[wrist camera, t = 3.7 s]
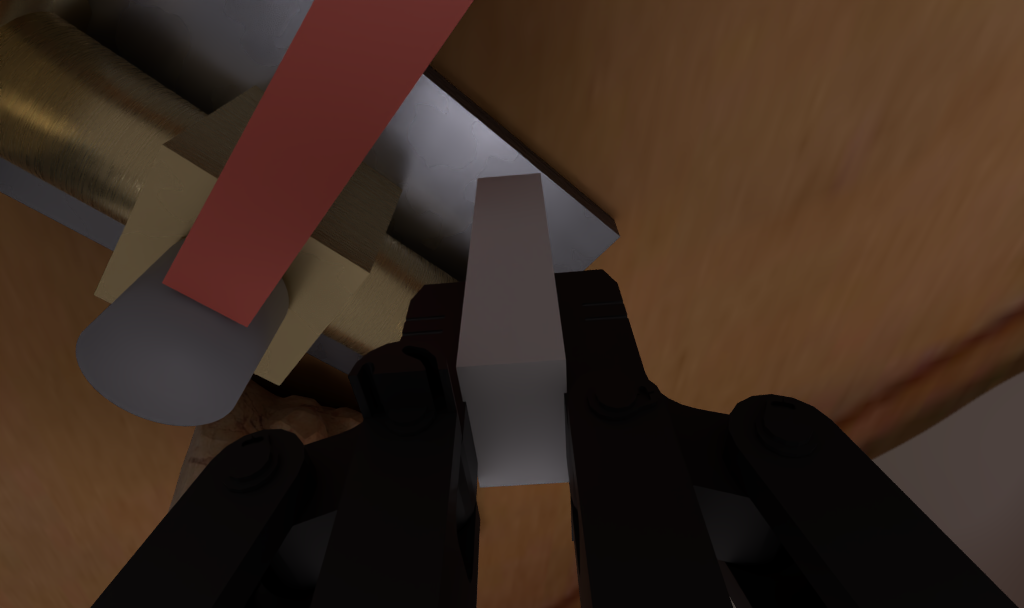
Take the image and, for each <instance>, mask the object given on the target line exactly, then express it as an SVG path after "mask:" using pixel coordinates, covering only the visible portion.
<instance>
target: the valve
mask: <svg viewBox="0 0 1024 608" xmlns="http://www.w3.org/2000/svg"><path fill="white" fill-rule="evenodd" d="M313 1H314V0H0V192H2V193H4V194H6V195H8V196H10V197H12V198H13V199H15V200H17V201H19V202H21V203H23V204H25V205H27V206H29V207H31V208H32V209H34V210H36V211H38V212H40V213H42V214H44V215H46V216H48V217H50V218H51V219H53V220H55V221H57V222H59V223H61V224H63V225H65V226H67V227H69V228H70V229H72V230H74V231H76V232H78V233H80V234H82V235H84V236H86V237H88V238H89V239H91V240H93V241H95V242H97V243H99V244H101V245H103V246H105V247H107V248H108V249H110V250H112V251H114V252H113V254H112V256H111V258H110V260H109V263H108V265H107V267H106V269H105V271H104V274H103V276H102V278H101V280H100V282H99V285H98V287H97V289H96V291H95V293H94V295H95V296H97V297H99V298H101V299H103V300H105V301H107V302H109V303H111V304H112V303H113V302H114V301H115V300H116V299H117V298H118V297H119V296H120V295H121V294H122V293H123V292H124V291H125V290H126V289H127V288H128V287H129V286H131V285H132V284H133V283H134V282H135V281H136V280H137V279H138V278H139V277H140V276H141V275H142V274H143V273H144V272H145V271H146V270H147V269H148V268H149V267H150V266H151V265H152V264H153V263H155V262H156V261H157V260H158V259H159V258H160V257H161V256H162V255H163V254H164V253H165V252H166V251H167V250H168V249H169V248H170V247H171V246H173V245H174V244H175V243H177V242H179V241H181V240H183V239H186V237H187V235H188V234H189V232H190V230H191V228H192V226H193V224H194V222H195V221H196V219H197V217H198V215H199V213H200V211H201V209H202V208H203V206H204V204H205V202H206V200H207V198H208V196H209V195H210V193H211V191H212V189H213V187H214V185H215V183H216V182H217V180H218V178H219V176H220V174H221V172H222V170H223V169H224V167H225V165H226V163H227V161H228V159H229V157H230V156H231V154H232V152H233V150H234V148H235V146H236V144H237V143H238V141H239V139H240V137H241V135H242V133H243V131H244V130H245V128H246V126H247V124H248V122H249V120H250V118H251V117H252V115H253V113H254V111H255V109H256V107H257V105H258V104H259V102H260V100H261V98H262V96H263V94H264V92H265V91H266V89H267V87H268V85H269V83H270V81H271V79H272V78H273V76H274V74H275V72H276V70H277V68H278V66H279V65H280V63H281V61H282V59H283V57H284V55H285V53H286V52H287V50H288V48H289V46H290V44H291V42H292V40H293V39H294V37H295V35H296V33H297V31H298V29H299V27H300V26H301V24H302V22H303V20H304V18H305V16H306V14H307V13H308V11H309V9H310V7H311V5H312V3H313ZM534 173H541V181H542V188H543V196H544V203H545V210H546V218H547V225H548V232H549V240H550V247H551V254H552V262H553V269H554V273H561V272H574V271H584V270H585V269H586V268H587V267H588V266H589V265H590V264H591V263H592V262H593V261H594V260H595V259H597V258H598V257H599V256H600V255H601V254H602V253H603V252H604V251H605V250H606V249H607V248H608V247H609V246H611V245H612V244H613V243H614V242H615V241H616V240H617V239H618V238H619V237H620V235H619V232H618V229H617V226H616V224H615V221H614V219H612V218H611V217H610V216H609V215H608V214H606V213H605V212H604V211H603V210H602V209H600V208H599V207H598V206H597V205H596V204H594V203H593V202H592V201H591V200H590V199H589V198H587V197H586V196H585V195H584V194H583V193H581V192H580V191H579V190H578V189H577V188H575V187H574V186H573V185H572V184H571V183H569V182H568V181H567V180H566V179H565V178H563V177H562V176H561V175H560V174H559V173H557V172H556V171H555V170H554V169H553V168H551V167H550V166H549V165H548V164H547V163H545V162H544V161H543V160H542V159H541V158H540V157H538V156H537V155H536V154H535V153H534V152H532V151H531V150H530V149H529V148H528V147H526V146H525V145H524V144H523V143H522V142H520V141H519V140H518V139H517V138H516V137H514V136H513V135H512V134H511V133H510V132H508V131H507V130H506V129H505V128H504V127H502V126H501V125H500V124H499V123H498V122H496V121H495V120H494V119H493V118H492V117H491V116H489V115H488V114H487V113H486V112H485V111H483V110H482V109H481V108H480V107H479V106H477V105H476V104H475V103H474V102H473V101H471V100H470V99H469V98H468V97H467V96H465V95H464V94H463V93H462V92H461V91H459V90H458V89H457V88H456V87H455V86H453V85H452V84H451V83H450V82H449V81H447V80H446V79H445V78H444V77H443V76H442V75H440V74H439V73H438V72H437V71H436V70H434V69H433V68H432V67H431V66H430V65H429V66H428V67H427V68H426V70H425V71H424V73H423V74H422V76H421V77H420V79H419V80H418V81H417V83H416V84H415V86H414V87H413V89H412V90H411V92H410V93H409V94H408V96H407V97H406V99H405V100H404V102H403V103H402V104H401V106H400V107H399V109H398V110H397V112H396V113H395V115H394V116H393V117H392V119H391V120H390V122H389V123H388V125H387V126H386V128H385V129H384V130H383V132H382V133H381V135H380V136H379V138H378V139H377V141H376V142H375V143H374V145H373V146H372V148H371V149H370V151H369V152H368V154H367V155H366V156H365V158H364V159H363V161H362V162H361V164H360V165H359V167H358V168H357V169H356V171H355V172H354V174H353V175H352V177H351V178H350V180H349V181H348V182H347V184H346V185H345V187H344V188H343V190H342V191H341V193H340V194H339V195H338V197H337V198H336V200H335V201H334V203H333V204H332V206H331V207H330V208H329V210H328V211H327V213H326V214H325V216H324V217H323V219H322V220H321V221H320V223H319V224H318V226H317V227H316V229H315V230H314V232H313V233H312V234H311V236H310V237H309V239H308V240H307V242H306V243H305V245H304V246H303V247H302V249H301V250H300V252H299V253H298V255H297V256H296V258H295V259H294V260H293V262H292V263H291V265H290V266H289V268H288V269H287V271H286V272H285V273H284V275H283V276H282V279H283V281H284V283H285V285H286V288H287V291H288V297H289V307H288V311H287V314H286V316H285V318H284V320H283V322H282V324H281V325H280V327H279V329H278V331H277V332H276V334H275V336H274V338H273V339H272V341H271V343H270V345H269V347H268V348H267V350H266V352H265V354H264V355H263V357H262V359H261V361H260V362H259V364H258V366H257V368H256V370H255V371H254V374H256V375H258V376H260V377H262V378H264V379H266V380H268V381H270V382H272V383H275V384H277V385H279V386H280V384H281V383H282V382H283V381H284V379H285V378H286V377H287V376H288V374H289V373H290V372H291V371H292V369H293V368H294V367H295V366H296V365H297V363H298V362H299V361H300V360H301V358H302V357H303V356H304V355H305V353H308V354H310V355H312V356H314V357H316V358H317V359H319V360H321V361H323V362H325V363H327V364H329V365H331V366H333V367H335V368H336V369H338V370H340V371H342V372H344V373H346V374H348V375H349V373H350V372H351V370H352V368H353V367H354V365H355V363H356V362H357V361H359V360H360V359H361V358H362V357H363V356H365V355H366V354H367V353H368V352H370V351H372V350H374V349H376V348H378V347H380V346H383V345H385V344H387V343H392V342H397V341H400V339H401V337H402V331H403V327H404V323H405V322H406V315H407V311H408V307H409V303H410V300H411V299H412V298H413V297H414V296H415V295H416V294H417V292H418V291H419V290H420V289H421V288H422V287H423V286H424V285H426V284H440V283H453V282H466V275H467V267H468V258H469V249H470V240H471V232H472V223H473V214H474V205H475V196H476V188H477V179H478V178H486V177H498V176H510V175H522V174H534Z"/></svg>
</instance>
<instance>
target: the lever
mask: <svg viewBox="0 0 1024 608" xmlns="http://www.w3.org/2000/svg"><path fill="white" fill-rule="evenodd" d="M473 1H474V0H314V1H313V3H312V5H311V7H310V9H309V11H308V13H307V14H306V16H305V18H304V20H303V22H302V24H301V26H300V27H299V29H298V31H297V33H296V35H295V37H294V39H293V40H292V42H291V44H290V46H289V48H288V50H287V52H286V53H285V55H284V57H283V59H282V61H281V63H280V65H279V66H278V68H277V70H276V72H275V74H274V76H273V78H272V79H271V81H270V83H269V85H268V87H267V89H266V91H265V92H264V94H263V96H262V98H261V100H260V102H259V104H258V105H257V107H256V109H255V111H254V113H253V115H252V117H251V118H250V120H249V122H248V124H247V126H246V128H245V130H244V131H243V133H242V135H241V137H240V139H239V141H238V143H237V144H236V146H235V148H234V150H233V152H232V154H231V156H230V157H229V159H228V161H227V163H226V165H225V167H224V169H223V170H222V172H221V174H220V176H219V178H218V180H217V182H216V183H215V185H214V187H213V189H212V191H211V193H210V195H209V196H208V198H207V200H206V202H205V204H204V206H203V208H202V209H201V211H200V213H199V215H198V217H197V219H196V221H195V222H194V224H193V226H192V228H191V230H190V232H189V234H188V235H187V237H186V239H183V240H181V241H179V242H177V243H175V244H174V245H173V246H171V247H170V248H169V249H168V250H167V251H166V252H165V253H164V254H163V255H162V256H161V257H160V258H159V259H158V260H157V261H156V262H155V263H153V264H152V265H151V266H150V267H149V268H148V269H147V270H146V271H145V272H144V273H143V274H142V275H141V276H140V277H139V278H138V279H137V280H136V281H135V282H134V283H133V284H132V285H131V286H129V287H128V288H127V289H126V290H125V291H124V292H123V293H122V294H121V295H120V296H119V297H118V298H117V299H116V300H115V301H114V302H113V303H112V304H111V305H110V306H109V307H108V308H107V309H105V310H104V311H103V312H102V313H101V314H100V315H99V316H98V317H97V318H96V319H95V320H94V321H93V322H92V323H91V324H90V325H89V326H88V327H87V328H86V329H85V330H84V331H83V332H82V333H81V335H80V336H79V338H78V341H77V344H76V358H77V361H78V364H79V367H80V369H81V371H82V373H83V374H84V376H85V377H86V379H87V380H88V382H89V383H90V384H91V385H92V386H93V387H94V388H95V389H96V390H97V391H98V392H99V393H100V394H101V395H103V396H104V397H105V398H106V399H108V400H109V401H111V402H112V403H114V404H115V405H117V406H118V407H120V408H122V409H124V410H126V411H128V412H130V413H132V414H134V415H136V416H139V417H142V418H144V419H147V420H151V421H154V422H158V423H163V424H168V425H175V426H197V425H204V424H208V423H212V422H215V421H217V420H219V419H221V418H223V417H225V416H226V415H227V414H229V413H230V412H231V410H232V409H233V408H234V406H235V405H236V403H237V401H238V400H239V398H240V396H241V394H242V393H243V391H244V389H245V387H246V385H247V384H248V382H249V380H250V378H251V377H252V375H253V373H254V371H255V370H256V368H257V366H258V364H259V362H260V361H261V359H262V357H263V355H264V354H265V352H266V350H267V348H268V347H269V345H270V343H271V341H272V339H273V338H274V336H275V334H276V332H277V331H278V329H279V327H280V325H281V324H282V322H283V320H284V318H285V316H286V314H287V311H288V307H289V297H288V291H287V288H286V285H285V283H284V281H283V279H282V276H283V275H284V273H285V272H286V271H287V269H288V268H289V266H290V265H291V263H292V262H293V260H294V259H295V258H296V256H297V255H298V253H299V252H300V250H301V249H302V247H303V246H304V245H305V243H306V242H307V240H308V239H309V237H310V236H311V234H312V233H313V232H314V230H315V229H316V227H317V226H318V224H319V223H320V221H321V220H322V219H323V217H324V216H325V214H326V213H327V211H328V210H329V208H330V207H331V206H332V204H333V203H334V201H335V200H336V198H337V197H338V195H339V194H340V193H341V191H342V190H343V188H344V187H345V185H346V184H347V182H348V181H349V180H350V178H351V177H352V175H353V174H354V172H355V171H356V169H357V168H358V167H359V165H360V164H361V162H362V161H363V159H364V158H365V156H366V155H367V154H368V152H369V151H370V149H371V148H372V146H373V145H374V143H375V142H376V141H377V139H378V138H379V136H380V135H381V133H382V132H383V130H384V129H385V128H386V126H387V125H388V123H389V122H390V120H391V119H392V117H393V116H394V115H395V113H396V112H397V110H398V109H399V107H400V106H401V104H402V103H403V102H404V100H405V99H406V97H407V96H408V94H409V93H410V92H411V90H412V89H413V87H414V86H415V84H416V83H417V81H418V80H419V79H420V77H421V76H422V74H423V73H424V71H425V70H426V68H427V67H428V66H429V64H430V63H431V61H432V60H433V58H434V57H435V55H436V54H437V53H438V51H439V50H440V48H441V47H442V45H443V44H444V42H445V41H446V40H447V38H448V37H449V35H450V34H451V32H452V31H453V29H454V28H455V27H456V25H457V24H458V22H459V21H460V19H461V18H462V16H463V15H464V14H465V12H466V11H467V9H468V8H469V6H470V5H471V3H472V2H473Z"/></svg>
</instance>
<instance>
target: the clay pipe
mask: <svg viewBox="0 0 1024 608" xmlns="http://www.w3.org/2000/svg"><path fill="white" fill-rule="evenodd" d="M363 419H364V418H363V416H362V413H360V412H358V411H355V410H353V409H350V408H347V407H342V408H338V409H335V408H332V407H324V406H321V405H320V404H319V403H318V402H317V401H316V400H315V399H312V398H308V397H303V396H297V395H291V396H289V397H286V398H282V397H279V396H276V395H274V394H272V393H271V392H269V391H268V390H266V389H265V388H263V387H261V386H260V385H259V384H257V383H256V382H254V381H253V380H251V379H250V380H249V382H248V384H247V385H246V387H245V389H244V391H243V393H242V394H241V396H240V398H239V400H238V401H237V403H236V405H235V406H234V408H233V409H232V410H231V412H230V413H229V414H227V415H226V416H225V417H223V418H221V419H219V420H217V421H215V422H212V423H208V424H204V425H197V426H196V428H195V431H194V434H193V437H192V440H191V443H190V446H189V449H188V452H187V454H186V457H185V460H184V463H183V465H182V468H181V472H180V475H179V479H178V482H177V486H176V489H175V493H174V496H173V499H172V502H171V505H170V508H169V511H170V510H171V509H172V507H173V506H174V505H175V504H176V503H177V501H178V500H179V499H180V498H181V496H182V495H183V494H184V493H185V492H186V490H187V489H188V488H189V487H190V486H191V484H192V483H193V482H194V481H195V479H196V478H197V477H198V476H199V475H200V473H201V472H202V471H203V470H204V468H205V467H206V466H207V465H208V464H209V462H210V461H211V460H212V459H213V458H214V457H215V456H216V455H217V454H219V453H220V452H221V451H222V450H223V449H224V448H225V447H226V446H228V445H229V444H231V443H233V442H234V441H236V440H238V439H239V438H241V437H243V436H245V435H248V434H251V433H254V432H257V431H260V430H264V429H284V430H286V431H289V432H292V433H295V434H296V435H297V436H298V438H299V439H300V440H301V441H302V443H303V444H304V445H306V444H309V443H312V442H315V441H318V440H321V439H324V438H327V437H331V436H334V435H337V434H340V433H342V432H344V431H347V430H349V429H352V428H354V427H355V426H357V425H358V424H360V423H362V422H363ZM169 511H168V512H169Z"/></svg>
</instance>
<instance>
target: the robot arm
mask: <svg viewBox="0 0 1024 608" xmlns="http://www.w3.org/2000/svg"><path fill="white" fill-rule="evenodd" d="M348 378H349V381H350V383H351V386H352V389H353V391H354V394H355V397H356V399H357V402H358V405H359V408H360V410H361V413H362V416H363V418H364V419H363V422H362V423H360V424H358V425H357V426H355V427H354V428H352V429H349V430H347V431H344V432H342V433H340V434H337V435H334V436H331V437H327V438H324V439H321V440H318V441H315V442H312V443H309V444H306V445H304V444H303V443H302V441H301V440H300V439H299V438H298V436H297V435H296V434H295V433H292V432H289V431H286V430H284V429H264V430H260V431H257V432H254V433H251V434H248V435H245V436H243V437H241V438H239V439H238V440H236V441H234V442H233V443H231V444H229V445H228V446H226V447H225V448H224V449H223V450H222V451H221V452H220V453H219V454H217V455H216V456H215V457H214V458H213V459H212V460H211V461H210V462H209V464H208V465H207V466H206V467H205V468H204V470H203V471H202V472H201V473H200V475H199V476H198V477H197V478H196V479H195V481H194V482H193V483H192V484H191V486H190V487H189V488H188V489H187V490H186V492H185V493H184V494H183V495H182V496H181V498H180V499H179V500H178V501H177V503H176V504H175V505H174V506H173V507H172V509H171V510H170V511H169V512H168V514H167V515H166V516H165V517H164V518H163V520H162V521H161V522H160V523H159V525H158V526H157V527H156V528H155V529H154V531H153V532H152V533H151V534H150V536H149V537H148V538H147V539H146V540H145V542H144V543H143V544H142V545H141V547H140V548H139V549H138V550H137V551H136V553H135V554H134V555H133V556H132V557H131V559H130V560H129V561H128V562H127V564H126V565H125V566H124V567H123V568H122V570H121V571H120V572H119V573H118V575H117V576H116V577H115V578H114V579H113V581H112V582H111V583H110V584H109V586H108V587H107V588H106V589H105V590H104V592H103V593H102V594H101V595H100V597H99V598H98V599H97V600H96V601H95V603H94V604H93V605H92V606H91V608H476V603H477V579H478V555H479V531H480V517H479V511H478V506H477V501H476V492H477V474H478V479H479V484H480V487H494V486H511V485H528V484H545V483H562V482H569V485H570V494H571V524H572V541H574V545H575V555H576V564H577V574H578V583H579V592H580V602H581V608H733V606H732V603H731V600H732V601H733V603H734V605H735V606H736V608H1018V607H1017V606H1016V605H1015V604H1014V603H1013V602H1012V601H1011V600H1010V599H1009V598H1008V597H1007V596H1006V595H1005V594H1004V593H1003V592H1002V591H1001V590H1000V589H999V588H998V587H997V586H996V585H995V584H994V582H993V581H991V579H990V578H989V577H988V576H986V574H984V572H983V571H982V570H980V568H979V567H977V565H976V564H975V563H973V561H972V560H971V559H970V558H969V557H968V556H967V555H966V554H964V552H963V551H962V550H961V549H959V547H958V546H957V545H956V544H954V542H952V540H951V539H950V538H949V537H948V536H947V535H945V534H944V533H943V532H942V530H941V529H940V528H938V526H937V525H936V524H935V523H934V522H933V521H932V520H931V519H930V518H929V517H928V516H927V515H926V514H924V512H923V511H922V510H921V509H920V508H919V507H918V506H917V505H916V504H915V503H914V502H913V501H912V500H911V499H910V498H909V497H908V496H907V495H906V494H905V493H904V492H903V491H901V489H900V488H899V487H898V486H897V485H896V484H895V483H894V482H893V481H892V480H891V479H890V478H889V477H888V476H887V475H886V474H885V473H884V472H883V471H882V470H881V469H880V468H879V467H878V466H877V465H876V464H875V463H874V462H873V461H872V460H871V459H870V458H869V457H868V456H867V455H866V454H865V453H864V452H863V451H862V450H861V449H860V448H859V447H858V446H857V445H856V444H855V443H854V442H853V441H852V440H851V439H850V438H849V437H848V436H847V435H846V434H845V433H844V432H843V431H842V430H841V429H840V428H839V427H838V426H837V425H836V424H835V423H834V422H833V421H832V420H831V419H829V418H828V417H827V416H825V415H824V414H823V413H821V412H820V411H819V410H818V409H816V408H815V407H813V406H811V405H809V404H806V403H804V402H802V401H799V400H797V399H795V398H791V397H785V396H780V395H774V394H768V395H758V396H751V397H749V398H747V399H745V400H743V401H741V402H739V403H737V405H736V406H735V408H734V409H733V410H732V412H731V413H730V414H729V415H728V414H722V413H717V412H712V411H706V410H701V409H696V408H692V407H689V406H685V405H682V404H679V403H677V402H675V401H673V400H671V399H669V398H667V397H666V396H664V395H663V394H662V393H661V392H660V391H659V389H658V387H657V386H656V385H655V384H654V383H652V382H651V381H650V380H649V379H648V377H647V375H646V373H645V371H644V368H643V364H642V361H641V358H640V355H639V351H638V348H637V345H636V342H635V338H634V335H633V332H632V329H631V325H630V322H629V319H628V318H627V312H626V309H625V306H624V304H623V300H622V296H621V293H620V290H619V287H618V283H617V282H616V281H614V280H613V279H612V278H611V277H610V276H609V275H608V274H607V273H606V272H605V271H604V270H602V269H600V270H587V271H574V272H561V273H554V269H553V262H552V254H551V247H550V240H549V232H548V225H547V218H546V210H545V203H544V196H543V188H542V181H541V173H534V174H522V175H510V176H498V177H486V178H478V179H477V188H476V196H475V205H474V214H473V223H472V232H471V240H470V249H469V258H468V267H467V275H466V282H453V283H440V284H426V285H424V286H423V287H422V288H421V289H420V290H419V291H418V292H417V294H416V295H415V296H414V297H413V298H412V299H411V300H410V303H409V307H408V311H407V315H406V322H405V323H404V327H403V331H402V337H401V339H400V341H397V342H392V343H387V344H385V345H383V346H380V347H378V348H376V349H374V350H372V351H370V352H368V353H367V354H366V355H365V356H363V357H362V358H361V359H360V360H359V361H357V362H356V363H355V365H354V367H353V368H352V370H351V372H350V373H349V375H348ZM729 596H730V597H729ZM730 598H731V600H730Z"/></svg>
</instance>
